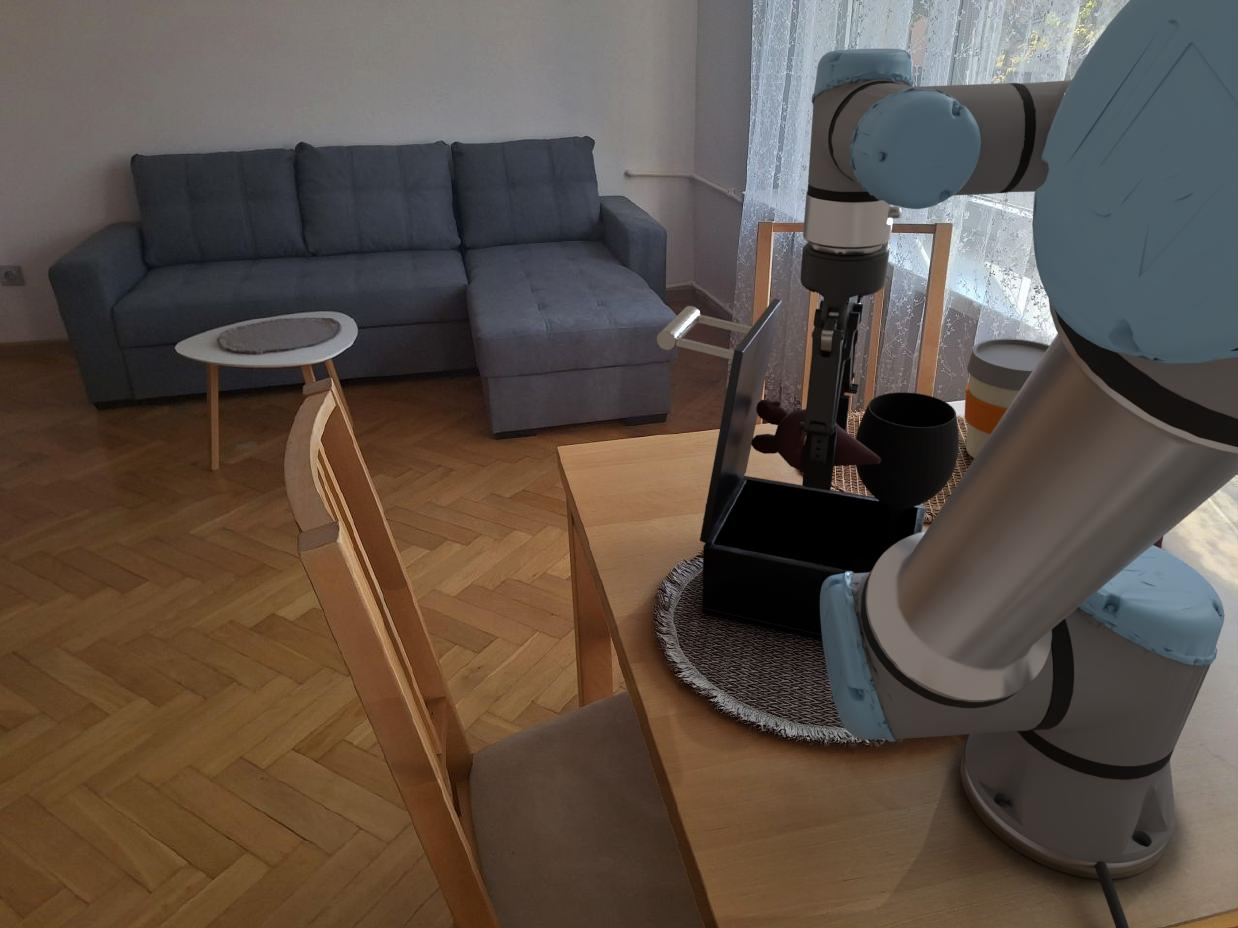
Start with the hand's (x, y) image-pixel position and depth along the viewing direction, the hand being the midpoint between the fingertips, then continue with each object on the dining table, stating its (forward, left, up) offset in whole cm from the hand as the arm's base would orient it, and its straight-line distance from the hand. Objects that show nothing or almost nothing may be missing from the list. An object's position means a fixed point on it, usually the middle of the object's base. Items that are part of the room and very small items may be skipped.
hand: (823, 468), depth 85 cm
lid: (0, +8, +4) cm, 9 cm away
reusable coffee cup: (+41, -19, -16) cm, 48 cm away
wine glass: (+7, -7, -6) cm, 12 cm away
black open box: (0, 0, -16) cm, 16 cm away
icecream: (0, +1, -1) cm, 1 cm away
